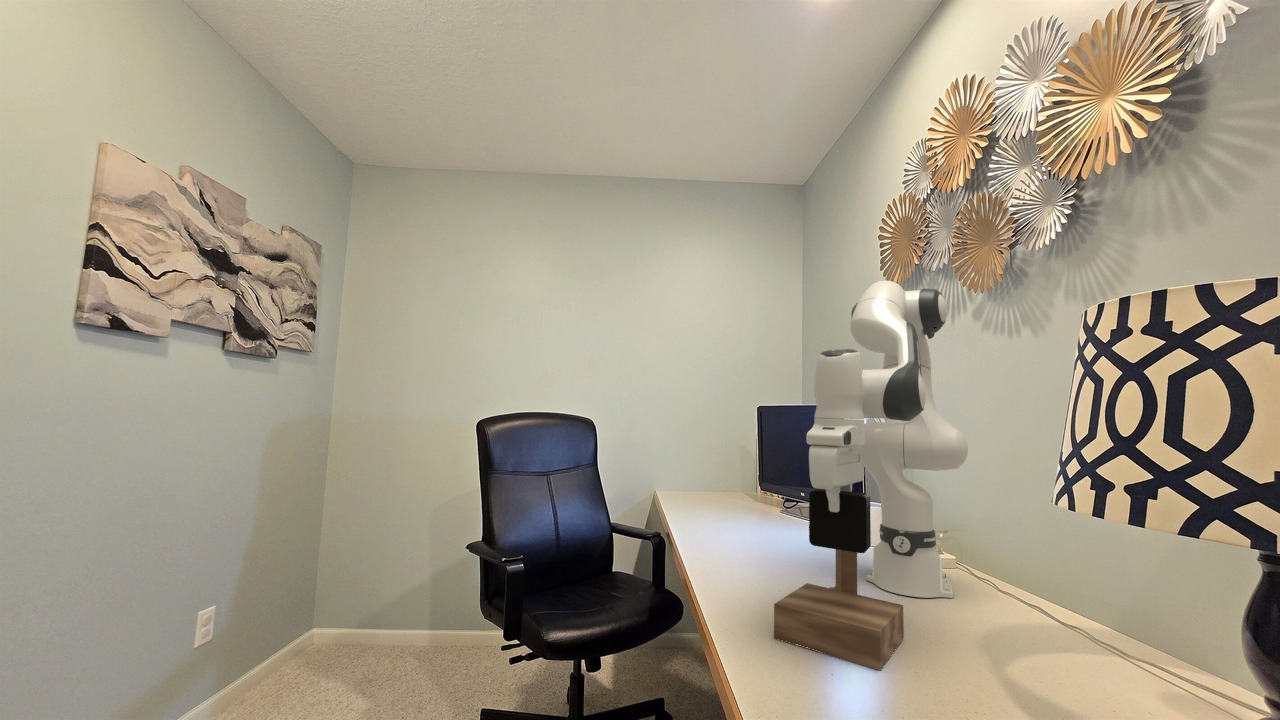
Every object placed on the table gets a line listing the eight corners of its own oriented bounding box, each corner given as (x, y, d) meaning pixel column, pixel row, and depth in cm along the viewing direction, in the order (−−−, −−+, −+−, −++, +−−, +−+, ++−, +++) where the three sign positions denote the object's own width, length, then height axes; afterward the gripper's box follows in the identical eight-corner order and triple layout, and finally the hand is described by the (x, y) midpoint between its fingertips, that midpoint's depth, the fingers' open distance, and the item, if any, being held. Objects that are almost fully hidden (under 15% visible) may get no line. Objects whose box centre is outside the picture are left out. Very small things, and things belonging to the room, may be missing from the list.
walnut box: (806, 613, 108) (806, 583, 109) (903, 639, 97) (903, 605, 98) (773, 638, 96) (774, 603, 96) (880, 670, 85) (880, 631, 85)
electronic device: (815, 540, 103) (814, 488, 104) (870, 549, 97) (870, 493, 98) (809, 545, 99) (809, 490, 100) (866, 554, 94) (866, 496, 95)
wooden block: (857, 616, 108) (857, 540, 109) (842, 616, 107) (841, 540, 109) (844, 605, 114) (843, 533, 116) (828, 604, 114) (828, 532, 115)
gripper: (839, 432, 110) (840, 501, 109) (802, 434, 94) (802, 514, 93) (872, 434, 106) (872, 505, 105) (838, 436, 90) (839, 520, 89)
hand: (839, 509), depth 99 cm, fingers closed on electronic device, 3 cm apart
